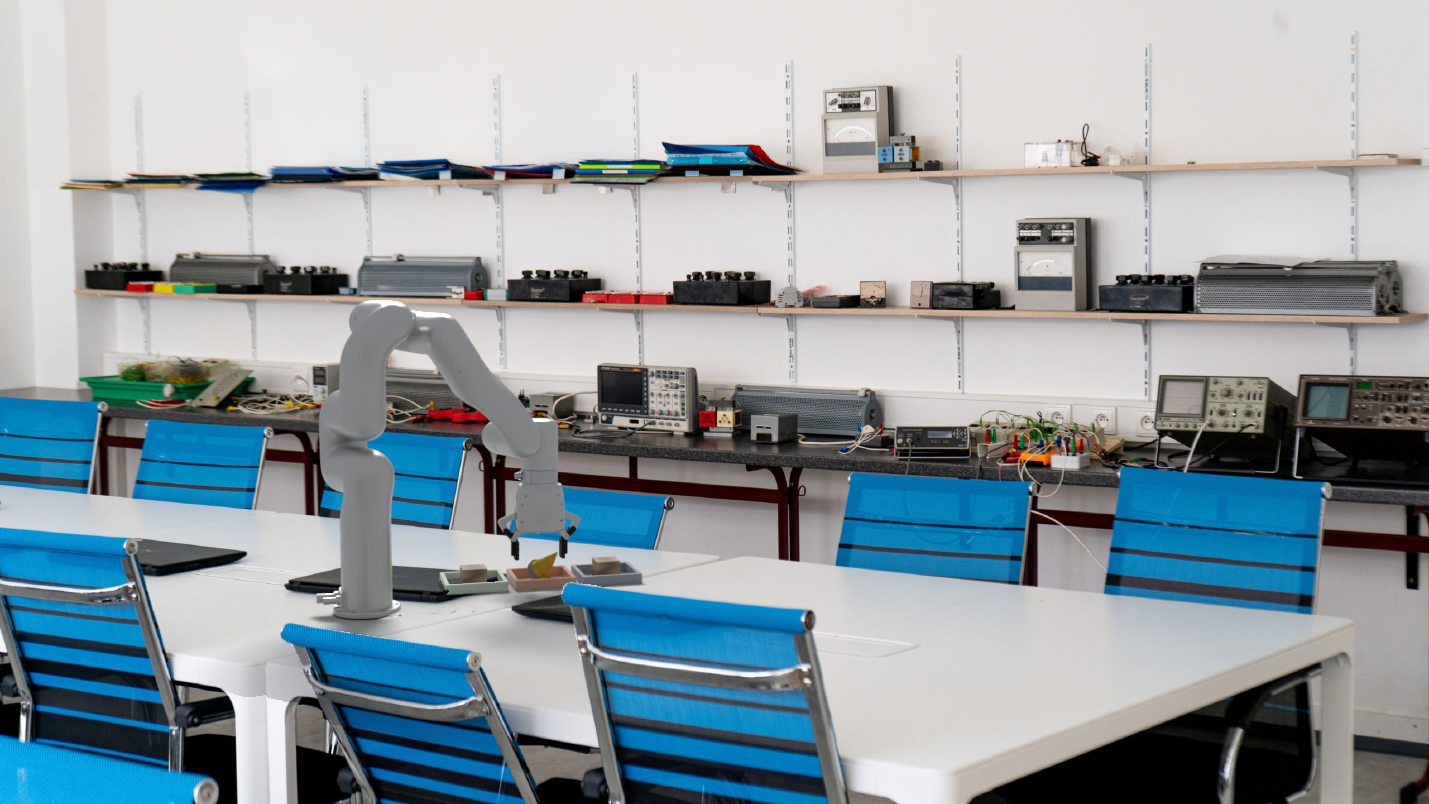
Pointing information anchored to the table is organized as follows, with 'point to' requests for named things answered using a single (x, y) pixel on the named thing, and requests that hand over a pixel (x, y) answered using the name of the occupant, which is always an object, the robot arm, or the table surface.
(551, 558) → the mustard yellow cone
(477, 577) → the walnut block
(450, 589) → the sage tray
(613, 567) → the walnut block
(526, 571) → the terracotta dish
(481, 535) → the table surface
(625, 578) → the grey tray
